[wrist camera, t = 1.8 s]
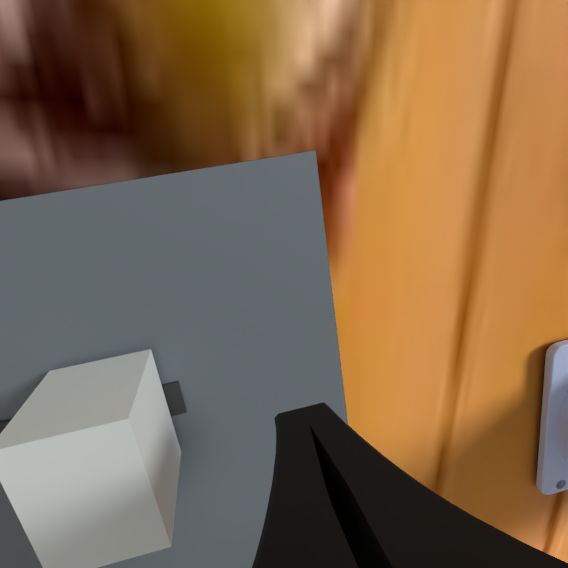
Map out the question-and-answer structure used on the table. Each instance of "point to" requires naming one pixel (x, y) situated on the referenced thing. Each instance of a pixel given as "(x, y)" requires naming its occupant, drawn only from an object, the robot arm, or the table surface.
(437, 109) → the table surface
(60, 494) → the block
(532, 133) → the table surface
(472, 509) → the table surface
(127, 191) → the switch board
